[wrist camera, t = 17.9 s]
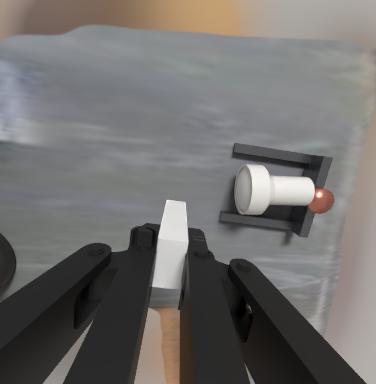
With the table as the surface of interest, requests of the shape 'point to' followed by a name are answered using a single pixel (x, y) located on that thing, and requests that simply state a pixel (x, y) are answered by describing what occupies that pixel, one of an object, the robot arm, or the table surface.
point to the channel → (300, 214)
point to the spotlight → (269, 190)
